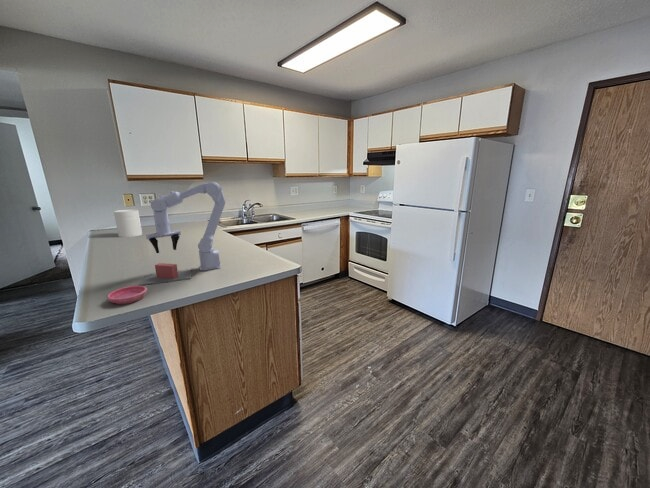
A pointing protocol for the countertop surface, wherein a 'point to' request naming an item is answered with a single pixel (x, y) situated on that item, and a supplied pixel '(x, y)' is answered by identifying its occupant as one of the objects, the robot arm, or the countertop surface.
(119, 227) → the canister
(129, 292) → the saucer
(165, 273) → the box
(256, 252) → the countertop surface
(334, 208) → the countertop surface
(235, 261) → the countertop surface
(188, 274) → the mat
